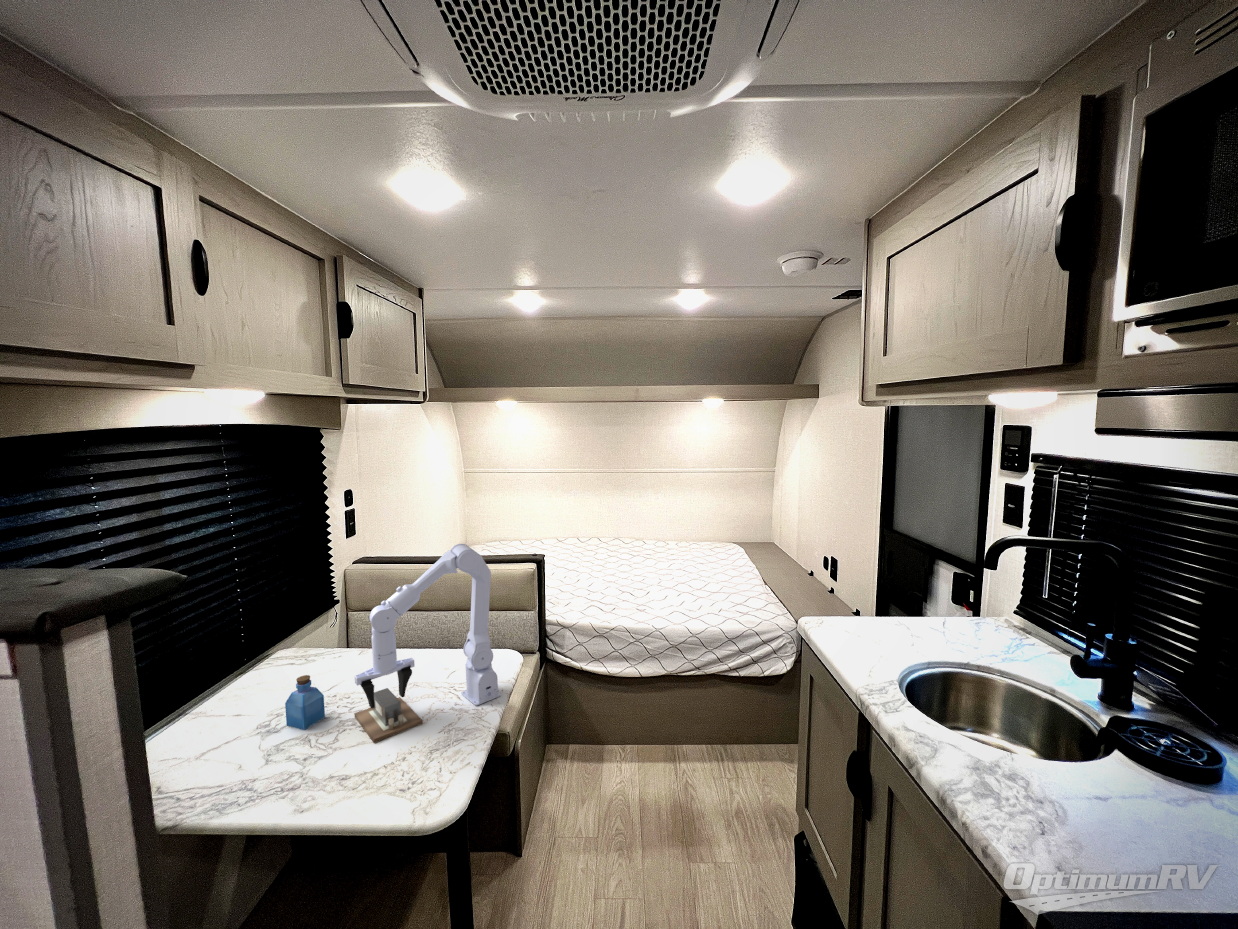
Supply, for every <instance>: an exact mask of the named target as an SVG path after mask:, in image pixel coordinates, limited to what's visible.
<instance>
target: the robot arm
mask: <svg viewBox="0 0 1238 929" xmlns="http://www.w3.org/2000/svg"><path fill="white" fill-rule="evenodd" d="M457 569H458V570H459V571H461V572H463V573H466V574H467V575H469V576H470V577H471V597H470V598H471V600H470V601H471V602H470V618H469V619H470V622H469V631H468V632H467V635H466V641H465V643H464V645H463V649H462V650H463V654H464V655H465V656H466V657H467V659H466V662H465V684H466V685H465V686H466V689H465V690H463V691H461V695H462V696H463V697H464V698H466V699H467V700H468V701H470V702H471V703H472V704H473V705H474V706H479V705H482V704H484V703H486V702H489V701H491V700H494V699H496V698H499V697H501V696H502V694H501V693H500V692H499V682H498V674H497V672H495V670H494V669H493V667H492V665H493V664H492V661H493V659H494V653H493V650H492V646H491V644H492V643H491V638H490V635H489V621H490V620H489V616H490V597H491V580H492V573H491V569H490V567H489V566H488V565H487V562H486V561H485V559H484V558H483V556H482V555H481V554H480V553H479V552H477V551H476V550H474V549H473V548H471V547H470V546H469V545H468V544H465V543H458V544H455V545H453V546H452V547H451V549H450V550H447V551H446V552H444V554H443V555H441V557H439V559H437V561H436V562H435V563H433V564H432V565H431V566H430V567H429V568H428V569H427V570H425V572H424V573H422V575H420V576H419V577H418V578H417V579H416V580H415V581H414V582H413V583H409V584H404V585H403V586H401V585H399V586H398V587H397V588H395V590H396V592H394V593H393V594H392V595H391V596H390V597H388V598H387V599H386V600H382V601H381V602H380V605H377V606H374V607H373V608H372V610H371V611H370V613H369V616H368V619H369V621H370V624H371V653H372V667H371V668H369V669H367V670H365V671H363V672H361V673H358V674H356V675H354V683H355V685H356V686H360V687H361V688H362V690H363V692H364V694H365V695H366V698H367V701H368V707H369V708H375V703H374V692H375V685H374V683H373V681H372V680H375V679H378V678H381V677H384V676H389V675H391V674H393V673H396V674H397V680H398V694H399V697H400V698H404V697H406V696H405V695H406V690H407V686H408V683H409V681H410V678H411V677H412V675H413V670H412V669H411V668H414V667H415V659H414V658H412V657H409V658H405V659H400V660H398V658H397V655H398V654H397V645H396V644H397V640H396V632H395V626H396V623H397V620H398V619H399V618H400V617H402V616H403V615H404V614H405V613H406V612H407V611H409V610H410V609H411V608H412V607H413V606H414V605H415V604H416V603H418V602H419V601H420V597H421V594H422V593H423V592H424V591H425V590H427V589H428V588H429V587H430V586H432V585H434V583H435V582H437V581H439V579H441V578H442V577H443V576H444V575H448V574H449V575H450V574H458V573H459V572H458V570H457Z"/></svg>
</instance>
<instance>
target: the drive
mask: <svg viewBox="0 0 1238 929" xmlns="http://www.w3.org/2000/svg"><path fill="white" fill-rule="evenodd" d="M398 698H399V697H397V696H396V695H395V694H394V693H393V692H392V691H391V690H390V689H389V688H388V687H386V688H383V689H380V690H377V691H374V703H375V708H373V712H374V713H375V714H376V715H377V716H378V718H379V719H380V720H381V721H382V723H383V724H384V725H385V726H388V725H389V721H388V719H389V718H394V723H395V722H398V715H400V714H401V702H400V701H399V700H398Z"/></svg>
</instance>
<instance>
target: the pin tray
mask: <svg viewBox="0 0 1238 929" xmlns="http://www.w3.org/2000/svg"><path fill="white" fill-rule="evenodd" d="M397 698H398V700H399V701H400V702H401V714H400V715H398V722H395V723H394V718H389V719H388V721H389V725H388V726H385V725H384V724H383V723H382V721H381V720H380V719H379V718H378V716H377V715H376V714H375V713H374V712H373V708H371V707H369V708H366V709H363V710H360V711H356V712H355V713H354V718H355V719H356V721H357V723H358V724H359V725H360V726H361V728H362V730H364V732H365V733H366V735H367V736H368V737H369V739H370V740H371V741H372V743H373V744H376V743H377V742H380V741H383V740H385V739H389V738H390V737H392V736H395V735H398V734H399V733H403V732H405V731H408V730H410V729H413V728H415V727H418V726H419V725H422V724H423V719H422V718H421V717H420V716H419V715H418V714H417V713H416V712H415V711H414V710H413V709H412V708H411V707H410V706H409V704H407V702H405V701H404V699H403V698H402V697H401V696H399V697H397Z"/></svg>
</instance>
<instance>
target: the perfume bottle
mask: <svg viewBox="0 0 1238 929" xmlns="http://www.w3.org/2000/svg"><path fill="white" fill-rule="evenodd" d="M295 688H296V690H294V691H292V692H291V693H290V695H289V696H288V698H287V699H286V701H285V704H284V705H285V708H284V709H285V720H286V721H285V722H286V727H289V728H290V727H291V728H292V729H293V728H294V729H299V730H302V731H306V730H307V729H308V728H310V727H311V726H313V725H315V724H316V723H319V721H321V720H322V719H325V718H326V713H325V712H326V709H325V696H324V693H323V692H321V691H320V690H319V689H318V687H316V686H312V680H311V675H309V674H306V675H301V676H299V677H297V678H296V683H295Z"/></svg>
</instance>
